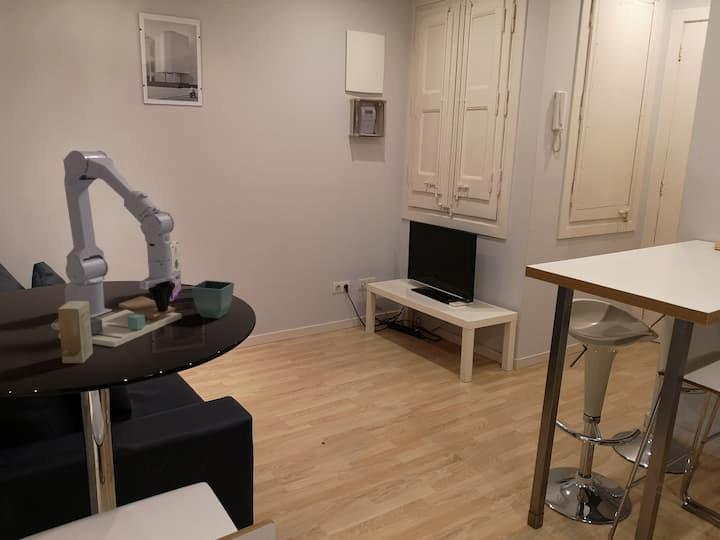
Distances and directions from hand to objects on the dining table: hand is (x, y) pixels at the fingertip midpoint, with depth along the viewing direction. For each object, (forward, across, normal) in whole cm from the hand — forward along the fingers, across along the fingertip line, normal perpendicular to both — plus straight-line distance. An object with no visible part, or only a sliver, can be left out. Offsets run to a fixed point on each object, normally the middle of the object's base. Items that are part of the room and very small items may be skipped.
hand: (162, 310), depth 152 cm
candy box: (+3, +25, +17) cm, 30 cm away
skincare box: (+4, -29, +1) cm, 29 cm away
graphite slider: (+2, -17, +7) cm, 19 cm away
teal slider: (+2, -10, 0) cm, 10 cm away
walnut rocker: (0, 0, +5) cm, 5 cm away
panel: (+3, -7, +7) cm, 10 cm away
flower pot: (+4, +11, -8) cm, 14 cm away
